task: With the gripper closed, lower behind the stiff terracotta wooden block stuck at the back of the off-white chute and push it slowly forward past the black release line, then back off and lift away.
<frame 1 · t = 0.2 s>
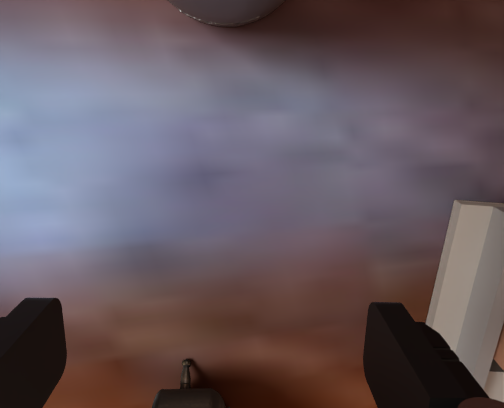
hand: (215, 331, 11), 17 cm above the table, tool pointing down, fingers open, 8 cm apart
alarm clock: (202, 403, 34), on the table
chute: (493, 367, 33), on the table
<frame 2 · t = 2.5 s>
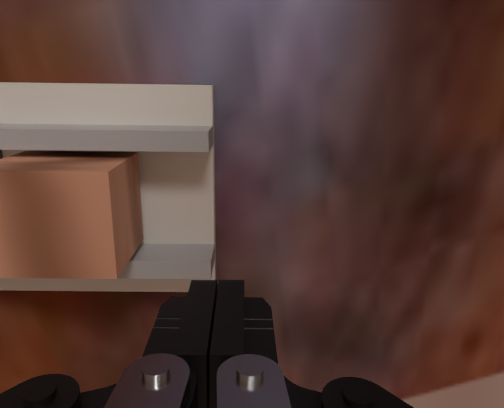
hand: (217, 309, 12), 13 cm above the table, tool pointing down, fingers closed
block: (67, 209, 21), point 4 cm above the table, slide at 0.0 cm
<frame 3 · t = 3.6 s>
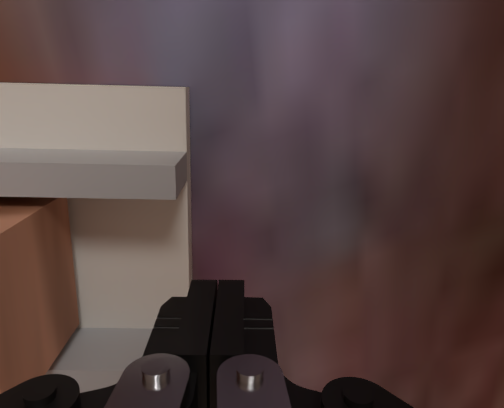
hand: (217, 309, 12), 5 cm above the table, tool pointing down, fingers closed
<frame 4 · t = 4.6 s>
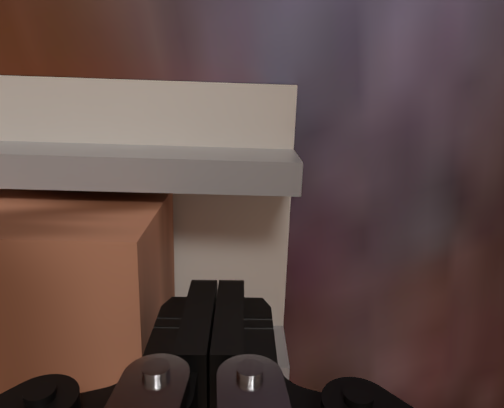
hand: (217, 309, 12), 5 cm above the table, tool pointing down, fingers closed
block: (58, 288, 13), point 4 cm above the table, slide at 0.1 cm, touching gripper
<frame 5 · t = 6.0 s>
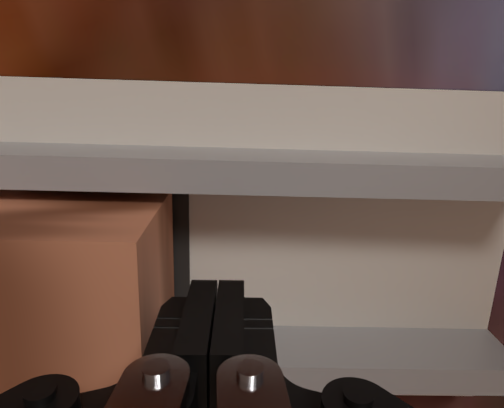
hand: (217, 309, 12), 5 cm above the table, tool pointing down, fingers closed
block: (58, 289, 13), point 4 cm above the table, slide at 8.0 cm, touching gripper
chute: (153, 242, 17), on the table
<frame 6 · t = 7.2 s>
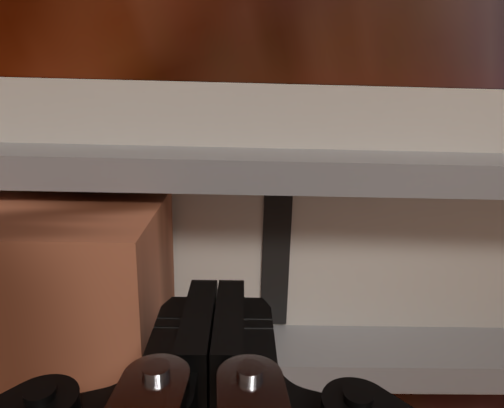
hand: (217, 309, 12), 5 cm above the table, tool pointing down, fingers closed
block: (58, 289, 13), point 4 cm above the table, slide at 11.7 cm, touching gripper
chute: (248, 244, 17), on the table
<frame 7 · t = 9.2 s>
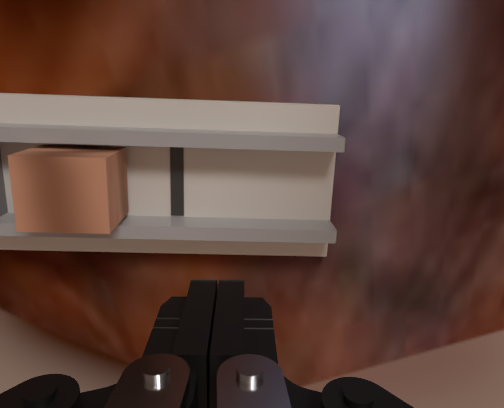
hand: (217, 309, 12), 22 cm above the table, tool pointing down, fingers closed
block: (74, 186, 30), point 4 cm above the table, slide at 11.7 cm
chute: (166, 177, 34), on the table
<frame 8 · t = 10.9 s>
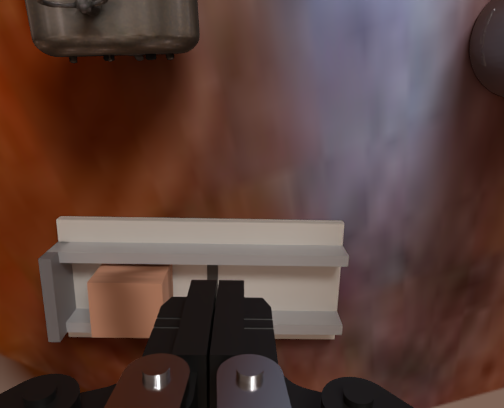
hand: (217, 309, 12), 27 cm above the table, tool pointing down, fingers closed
alarm clock: (140, 32, 36), on the table
block: (133, 296, 38), point 4 cm above the table, slide at 11.7 cm
chute: (203, 277, 41), on the table
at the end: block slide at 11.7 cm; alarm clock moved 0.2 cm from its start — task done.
